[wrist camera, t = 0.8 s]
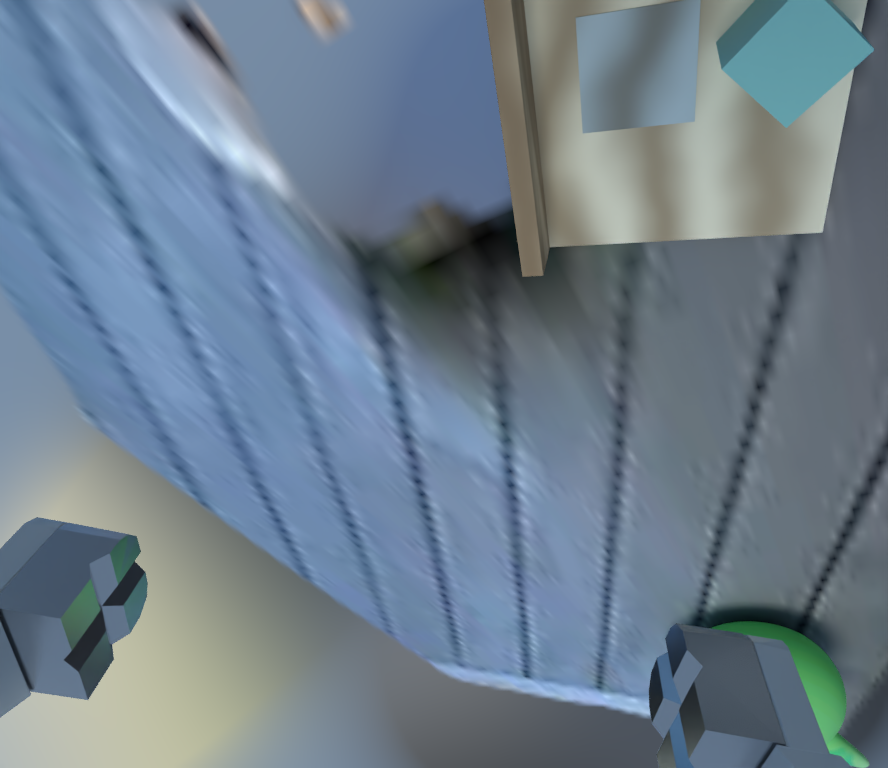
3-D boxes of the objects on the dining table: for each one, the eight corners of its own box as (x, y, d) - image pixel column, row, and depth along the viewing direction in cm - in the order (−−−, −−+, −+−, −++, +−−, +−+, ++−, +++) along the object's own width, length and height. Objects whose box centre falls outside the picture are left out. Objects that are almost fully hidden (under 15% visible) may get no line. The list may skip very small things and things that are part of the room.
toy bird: (804, 586, 71) (829, 725, 61) (855, 661, 79) (885, 797, 68) (650, 608, 81) (649, 730, 71) (708, 673, 89) (714, 792, 78)
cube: (791, -39, 35) (806, -19, 31) (853, 23, 36) (874, 49, 32) (715, 42, 38) (721, 69, 35) (774, 96, 39) (786, 128, 36)
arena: (888, -140, 32) (917, -130, 29) (819, 225, 45) (833, 263, 41) (494, -60, 38) (478, -43, 35) (532, 241, 51) (522, 276, 47)
